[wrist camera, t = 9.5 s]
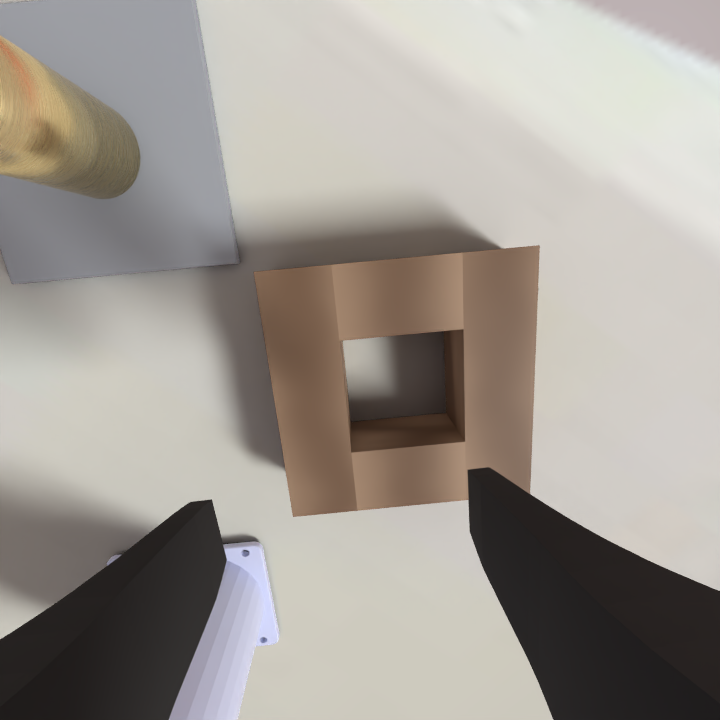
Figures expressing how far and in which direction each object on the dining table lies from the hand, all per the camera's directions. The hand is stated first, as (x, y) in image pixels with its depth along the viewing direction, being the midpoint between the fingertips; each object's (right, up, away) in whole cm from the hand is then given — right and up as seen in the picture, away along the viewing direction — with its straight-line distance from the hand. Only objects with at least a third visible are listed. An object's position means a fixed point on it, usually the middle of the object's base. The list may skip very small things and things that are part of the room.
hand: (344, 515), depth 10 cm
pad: (-12, +14, +7) cm, 19 cm away
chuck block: (+2, +4, +10) cm, 11 cm away
